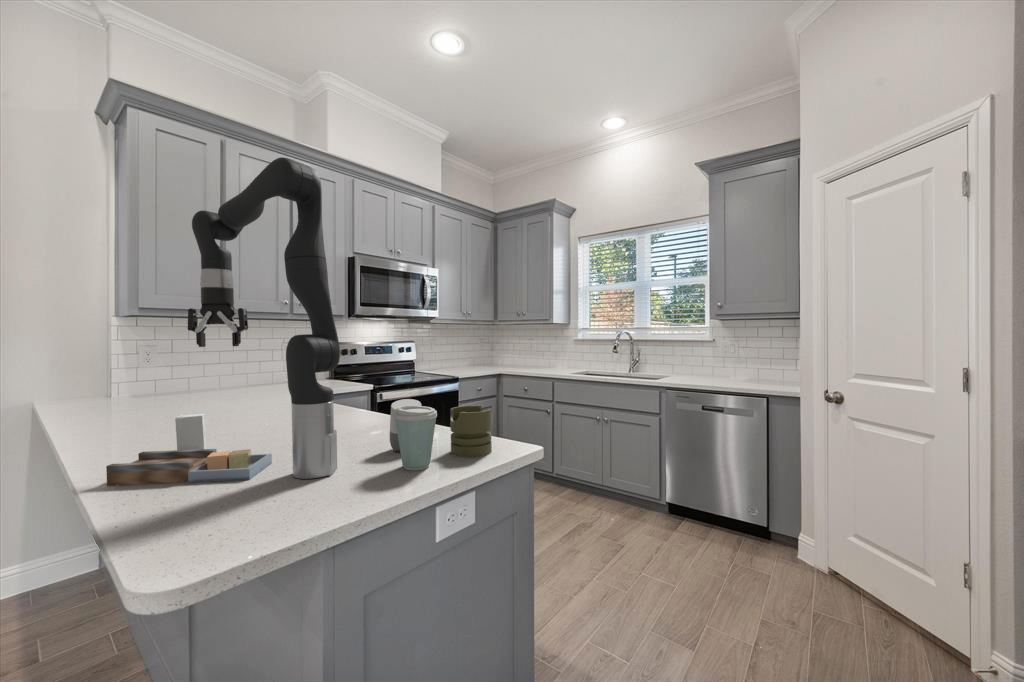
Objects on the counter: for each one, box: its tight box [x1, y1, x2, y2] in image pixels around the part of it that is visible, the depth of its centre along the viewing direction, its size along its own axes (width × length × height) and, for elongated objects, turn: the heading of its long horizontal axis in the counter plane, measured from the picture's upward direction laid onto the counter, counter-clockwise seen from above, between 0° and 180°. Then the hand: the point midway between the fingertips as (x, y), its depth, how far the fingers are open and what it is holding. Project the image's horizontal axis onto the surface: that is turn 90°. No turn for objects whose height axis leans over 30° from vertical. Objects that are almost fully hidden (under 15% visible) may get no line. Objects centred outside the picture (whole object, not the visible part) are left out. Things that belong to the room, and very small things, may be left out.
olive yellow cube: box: [229, 448, 252, 469], centre depth 111 cm, size 4×4×4 cm
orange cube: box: [207, 450, 232, 470], centre depth 110 cm, size 4×4×4 cm
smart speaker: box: [389, 398, 423, 453], centre depth 129 cm, size 10×9×14 cm
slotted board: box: [105, 448, 217, 487], centre depth 108 cm, size 17×12×4 cm
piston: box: [449, 405, 493, 459], centre depth 126 cm, size 11×12×11 cm
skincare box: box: [174, 413, 208, 450], centre depth 121 cm, size 6×4×12 cm
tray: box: [187, 453, 273, 484], centre depth 110 cm, size 13×13×2 cm
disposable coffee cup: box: [394, 405, 438, 471], centre depth 113 cm, size 11×11×15 cm
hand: (218, 346), depth 124 cm, fingers open, 8 cm apart
